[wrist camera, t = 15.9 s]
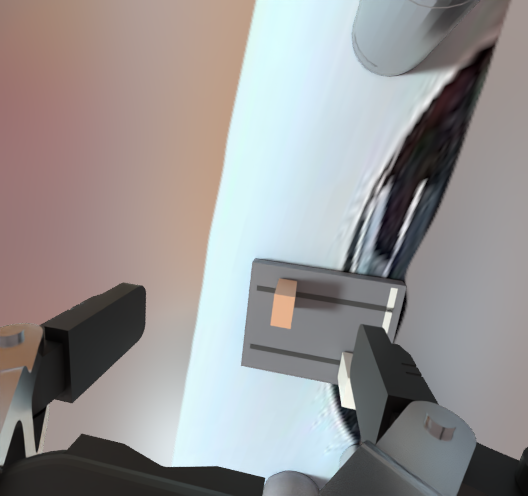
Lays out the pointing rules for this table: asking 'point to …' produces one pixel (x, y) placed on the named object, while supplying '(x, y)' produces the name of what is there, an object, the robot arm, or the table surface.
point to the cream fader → (345, 381)
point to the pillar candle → (290, 485)
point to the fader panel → (315, 318)
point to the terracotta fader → (283, 303)
